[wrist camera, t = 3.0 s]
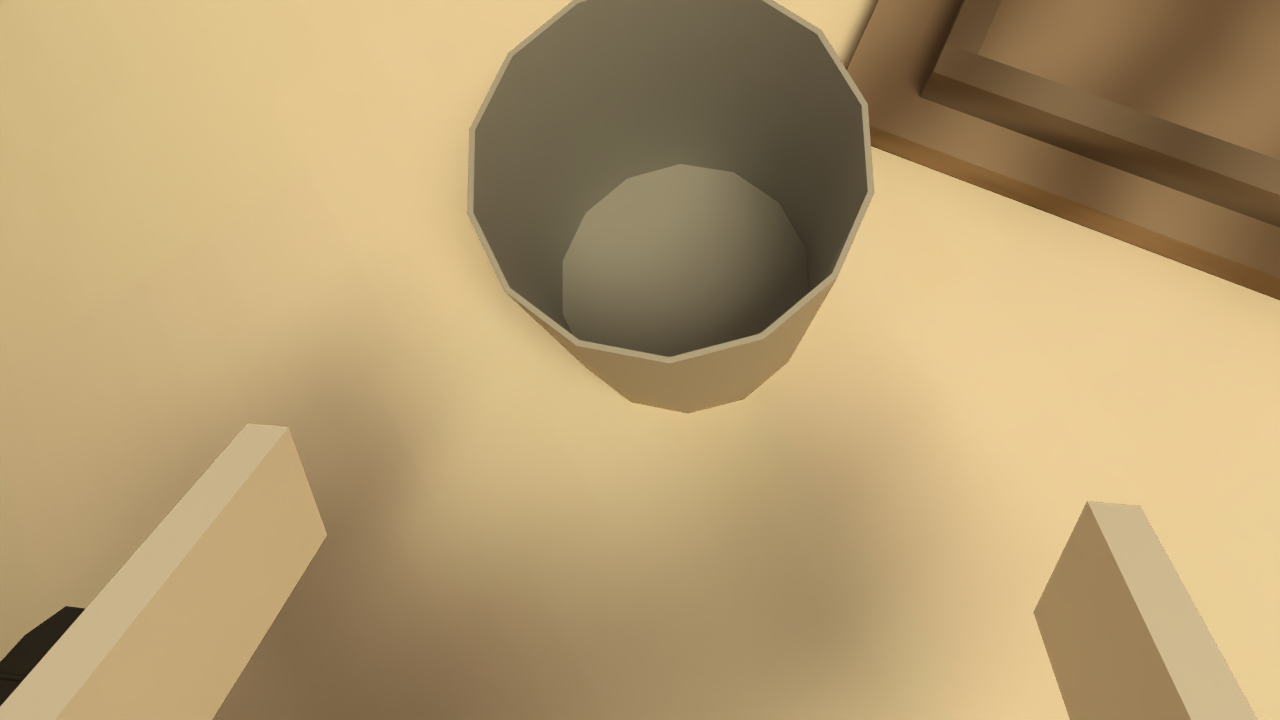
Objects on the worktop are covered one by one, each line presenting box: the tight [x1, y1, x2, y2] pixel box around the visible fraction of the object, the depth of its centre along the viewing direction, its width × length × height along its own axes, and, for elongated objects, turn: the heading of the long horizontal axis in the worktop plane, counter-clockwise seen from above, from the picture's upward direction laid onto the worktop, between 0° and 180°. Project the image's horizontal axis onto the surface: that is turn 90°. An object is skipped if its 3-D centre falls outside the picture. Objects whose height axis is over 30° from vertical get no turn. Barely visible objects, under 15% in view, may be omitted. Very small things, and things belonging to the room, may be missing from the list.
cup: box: [467, 0, 874, 413], centre depth 20 cm, size 8×8×10 cm
